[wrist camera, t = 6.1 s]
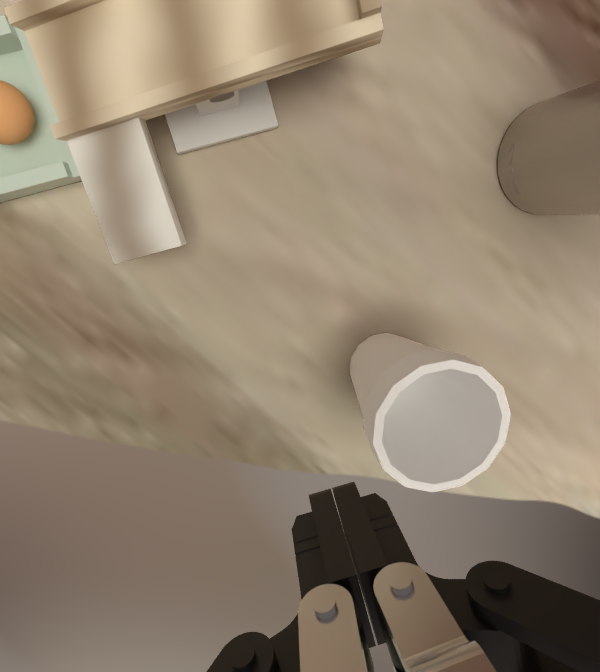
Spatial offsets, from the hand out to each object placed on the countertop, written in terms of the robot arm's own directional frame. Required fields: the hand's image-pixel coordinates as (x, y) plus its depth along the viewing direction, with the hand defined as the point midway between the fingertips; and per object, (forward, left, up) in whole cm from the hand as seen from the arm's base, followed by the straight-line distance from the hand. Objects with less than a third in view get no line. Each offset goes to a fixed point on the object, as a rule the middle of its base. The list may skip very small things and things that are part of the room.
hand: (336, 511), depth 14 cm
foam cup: (-8, +7, -27) cm, 29 cm away
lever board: (-1, -16, -21) cm, 26 cm away
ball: (+14, -20, -24) cm, 34 cm away
